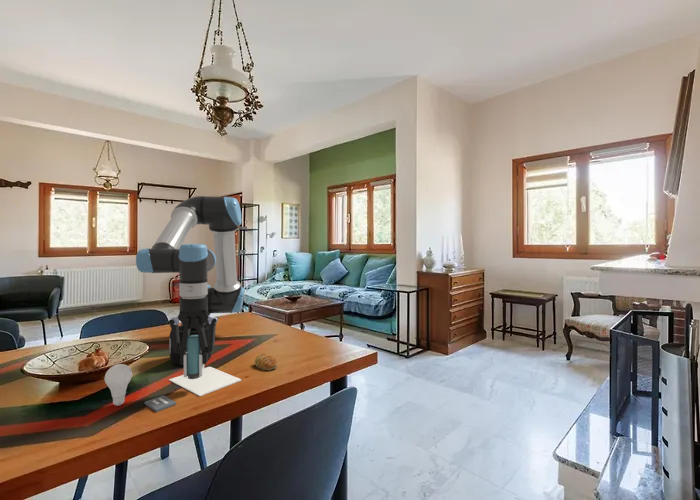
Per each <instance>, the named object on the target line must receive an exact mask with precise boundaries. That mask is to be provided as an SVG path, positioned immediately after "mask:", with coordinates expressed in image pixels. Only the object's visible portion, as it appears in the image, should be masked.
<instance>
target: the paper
mask: <svg viewBox="0 0 700 500" xmlns="http://www.w3.org/2000/svg"><path fill="white" fill-rule="evenodd" d="M242 380H243V379H241V378H239V377H237V376H234V375H232V374H229V373H226V372H225V371H222V370H219V369H217V368H214V367H212V366H207V367H204V374H203V376H202V377H199V378H197V379H188V376H187V377H184V374H182V375H179V376H176V377H172V378H170V379H168V382H172V383H173V384H175V385H177V386H179V387H181V388H183V389H185V390H186V391H189V392H191V393H192V394H194V395H196V396H198V397H202V396H205V395H208V394H210V393H212V392H215V391H218V390H220V389H223V388H226V387H229V386H231V385H234V384H236V383H238V382H241V381H242Z"/></svg>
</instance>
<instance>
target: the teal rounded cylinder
mask: <svg viewBox="0 0 700 500" xmlns="http://www.w3.org/2000/svg"><path fill="white" fill-rule="evenodd" d="M200 353H201V346H200V341H199V336H198V335H191V336H188V337H187V364H188V379H197V378H199V354H200Z"/></svg>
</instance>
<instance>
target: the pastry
mask: <svg viewBox="0 0 700 500" xmlns="http://www.w3.org/2000/svg"><path fill="white" fill-rule="evenodd" d="M254 364H255V366H256V368H258V369H260V370H263V371H271V370H274V369H277V367H278V362H277V359H276V357H275V356H273V355H272V354H268V353H264V352H263V353H259V355H257V356H256V358H255V359H254Z"/></svg>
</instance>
